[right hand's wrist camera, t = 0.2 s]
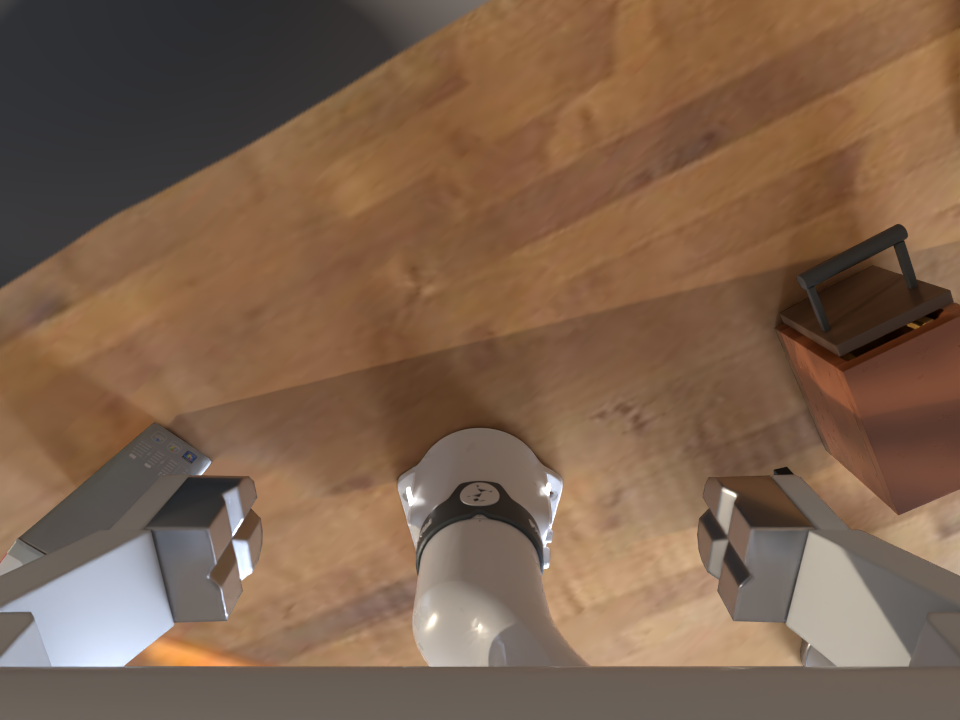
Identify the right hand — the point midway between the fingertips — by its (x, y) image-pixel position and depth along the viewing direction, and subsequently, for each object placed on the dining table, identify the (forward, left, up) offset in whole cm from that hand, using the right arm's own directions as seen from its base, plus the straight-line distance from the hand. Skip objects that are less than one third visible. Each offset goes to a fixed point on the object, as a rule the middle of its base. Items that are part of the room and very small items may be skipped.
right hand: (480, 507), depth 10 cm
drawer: (-12, -36, -47) cm, 60 cm away
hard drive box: (-31, +38, -48) cm, 68 cm away
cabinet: (-17, -39, -48) cm, 64 cm away
